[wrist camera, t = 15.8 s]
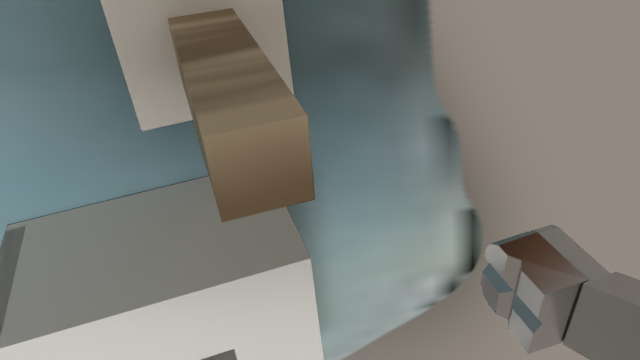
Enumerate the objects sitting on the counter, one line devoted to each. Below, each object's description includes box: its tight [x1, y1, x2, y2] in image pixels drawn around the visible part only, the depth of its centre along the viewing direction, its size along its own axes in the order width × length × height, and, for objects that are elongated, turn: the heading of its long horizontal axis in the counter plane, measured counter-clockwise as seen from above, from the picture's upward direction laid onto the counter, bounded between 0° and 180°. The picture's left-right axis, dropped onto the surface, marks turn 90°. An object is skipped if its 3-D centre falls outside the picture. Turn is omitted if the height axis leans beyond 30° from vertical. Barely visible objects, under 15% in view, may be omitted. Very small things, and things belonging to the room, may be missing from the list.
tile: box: [100, 0, 294, 131], centre depth 25 cm, size 8×8×1 cm
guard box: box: [0, 176, 324, 360], centre depth 29 cm, size 14×14×9 cm
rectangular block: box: [167, 8, 315, 222], centre depth 20 cm, size 3×3×12 cm
